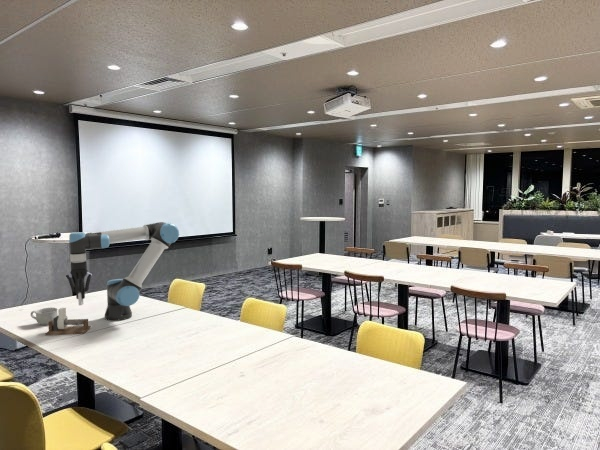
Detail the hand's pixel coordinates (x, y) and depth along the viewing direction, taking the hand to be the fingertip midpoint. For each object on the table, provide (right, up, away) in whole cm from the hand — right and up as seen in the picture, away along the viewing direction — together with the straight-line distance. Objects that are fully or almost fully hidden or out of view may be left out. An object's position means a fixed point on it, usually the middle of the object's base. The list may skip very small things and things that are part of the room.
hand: (81, 304), depth 231 cm
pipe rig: (-6, -14, 0) cm, 16 cm away
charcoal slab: (-12, -12, -1) cm, 17 cm away
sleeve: (-9, -12, -1) cm, 15 cm away
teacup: (-27, -14, +13) cm, 33 cm away
